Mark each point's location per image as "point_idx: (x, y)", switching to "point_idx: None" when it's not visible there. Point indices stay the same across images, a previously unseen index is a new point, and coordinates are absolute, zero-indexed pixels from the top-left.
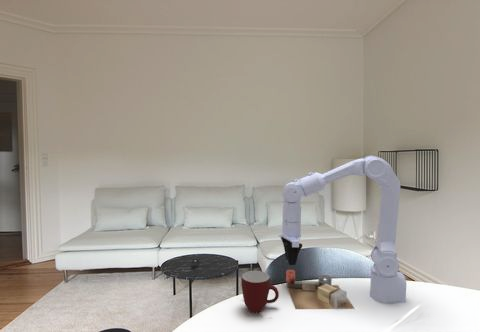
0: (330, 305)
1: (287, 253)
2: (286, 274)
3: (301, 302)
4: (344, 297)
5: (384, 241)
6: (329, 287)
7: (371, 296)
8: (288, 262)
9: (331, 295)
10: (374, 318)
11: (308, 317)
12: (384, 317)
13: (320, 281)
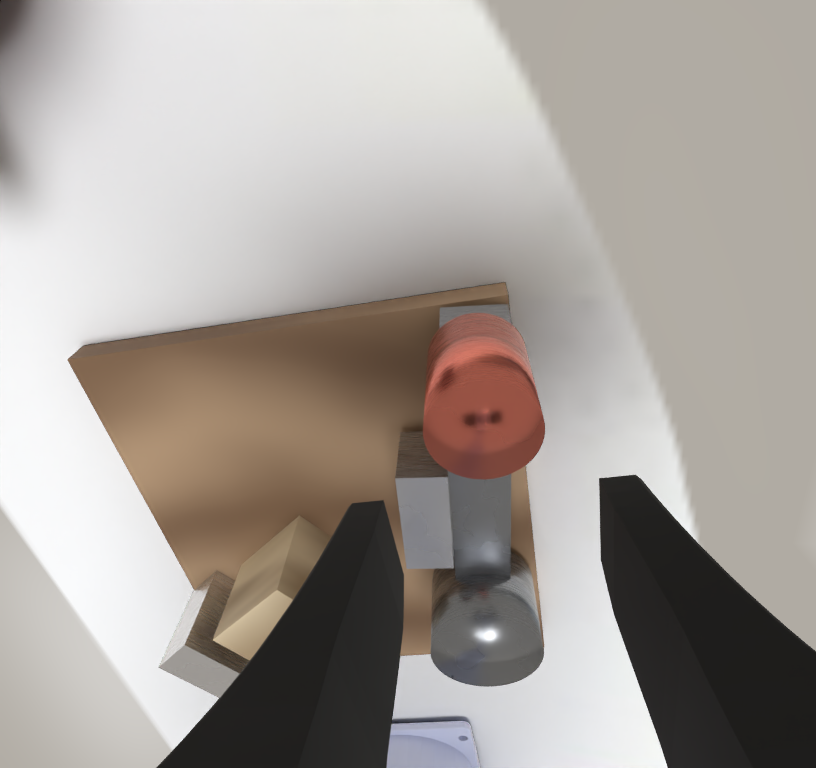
0: (215, 573)
1: (219, 698)
2: (463, 362)
3: (195, 408)
4: None
5: None
6: None
7: (391, 750)
8: (337, 527)
9: (182, 642)
10: (209, 697)
11: (62, 425)
12: None
13: (452, 605)
